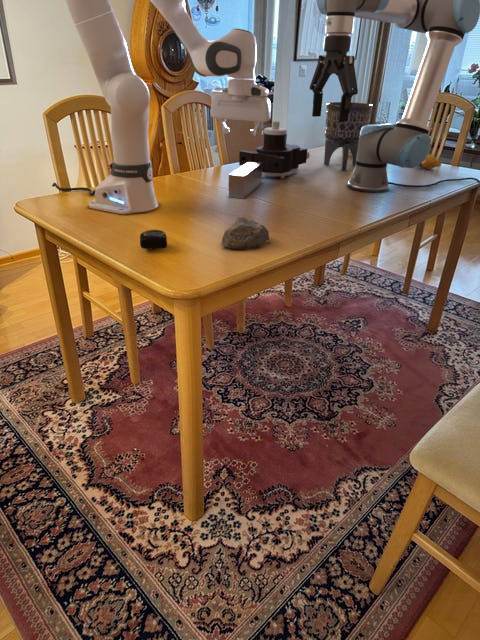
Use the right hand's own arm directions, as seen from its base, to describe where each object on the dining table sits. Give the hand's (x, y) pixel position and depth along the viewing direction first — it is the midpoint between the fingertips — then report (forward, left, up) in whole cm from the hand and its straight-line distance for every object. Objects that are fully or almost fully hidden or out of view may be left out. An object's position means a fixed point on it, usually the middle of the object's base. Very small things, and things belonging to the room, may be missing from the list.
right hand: (329, 119), depth 136 cm
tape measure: (+45, +40, -28) cm, 67 cm away
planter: (-16, -72, -28) cm, 78 cm away
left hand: (+28, -15, -7) cm, 32 cm away
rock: (+22, +34, -28) cm, 49 cm away
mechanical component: (+12, -54, -28) cm, 62 cm away
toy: (-56, -77, -28) cm, 99 cm away
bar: (+26, -24, -28) cm, 45 cm away
